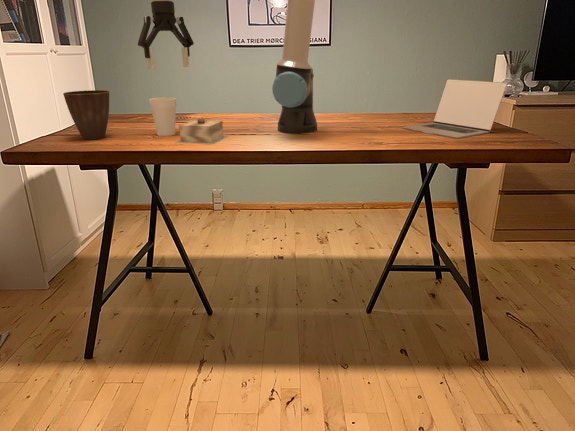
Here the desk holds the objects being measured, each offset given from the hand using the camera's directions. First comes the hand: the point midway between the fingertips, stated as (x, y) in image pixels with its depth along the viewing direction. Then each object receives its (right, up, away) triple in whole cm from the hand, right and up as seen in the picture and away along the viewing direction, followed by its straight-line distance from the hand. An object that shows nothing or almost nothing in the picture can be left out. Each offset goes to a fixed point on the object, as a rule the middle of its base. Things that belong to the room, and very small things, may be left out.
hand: (169, 67), depth 161 cm
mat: (+12, -26, -2) cm, 29 cm away
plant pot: (-28, -24, +5) cm, 37 cm away
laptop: (+102, -21, +11) cm, 105 cm away
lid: (+12, -26, -2) cm, 28 cm away
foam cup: (-3, -23, +7) cm, 24 cm away
